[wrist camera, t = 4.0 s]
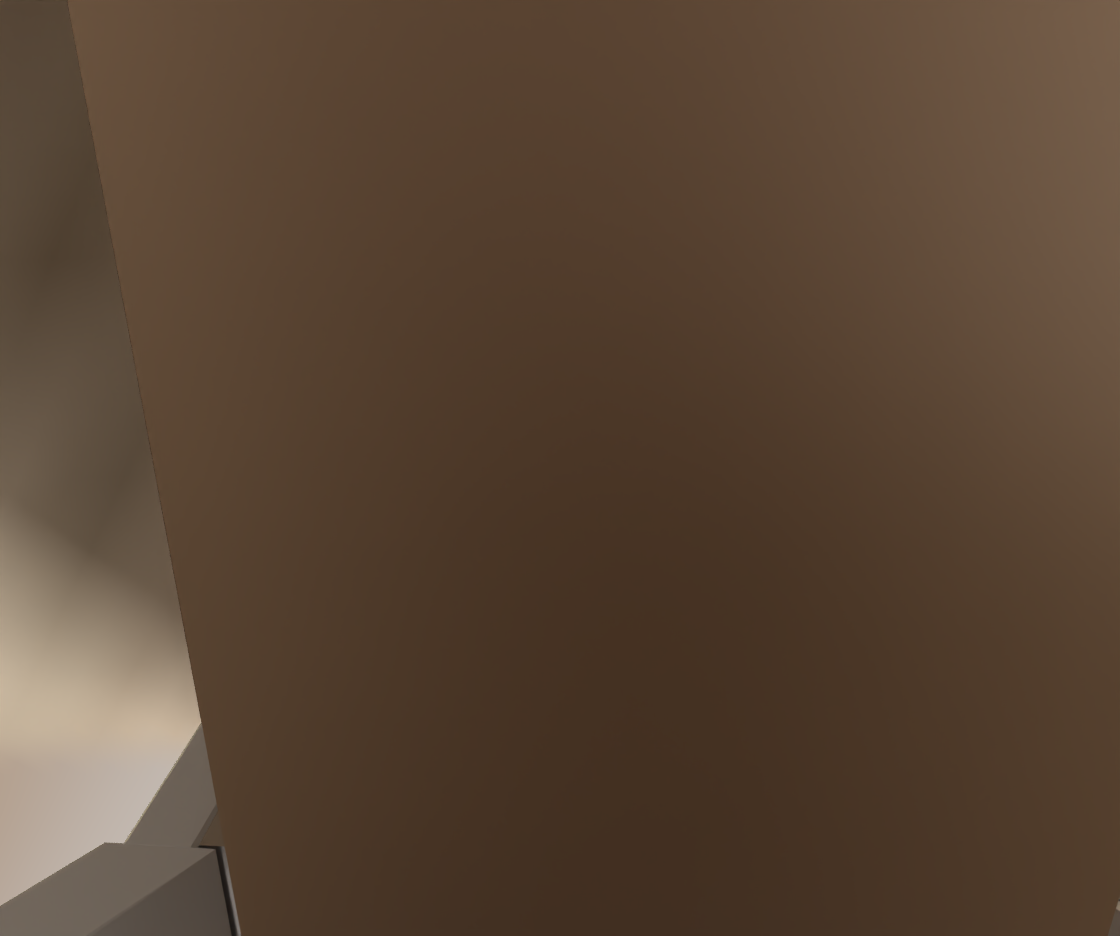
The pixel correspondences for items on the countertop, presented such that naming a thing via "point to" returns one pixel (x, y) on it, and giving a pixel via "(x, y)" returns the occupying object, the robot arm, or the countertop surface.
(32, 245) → the countertop surface
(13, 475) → the countertop surface
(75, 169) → the countertop surface
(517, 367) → the bar
